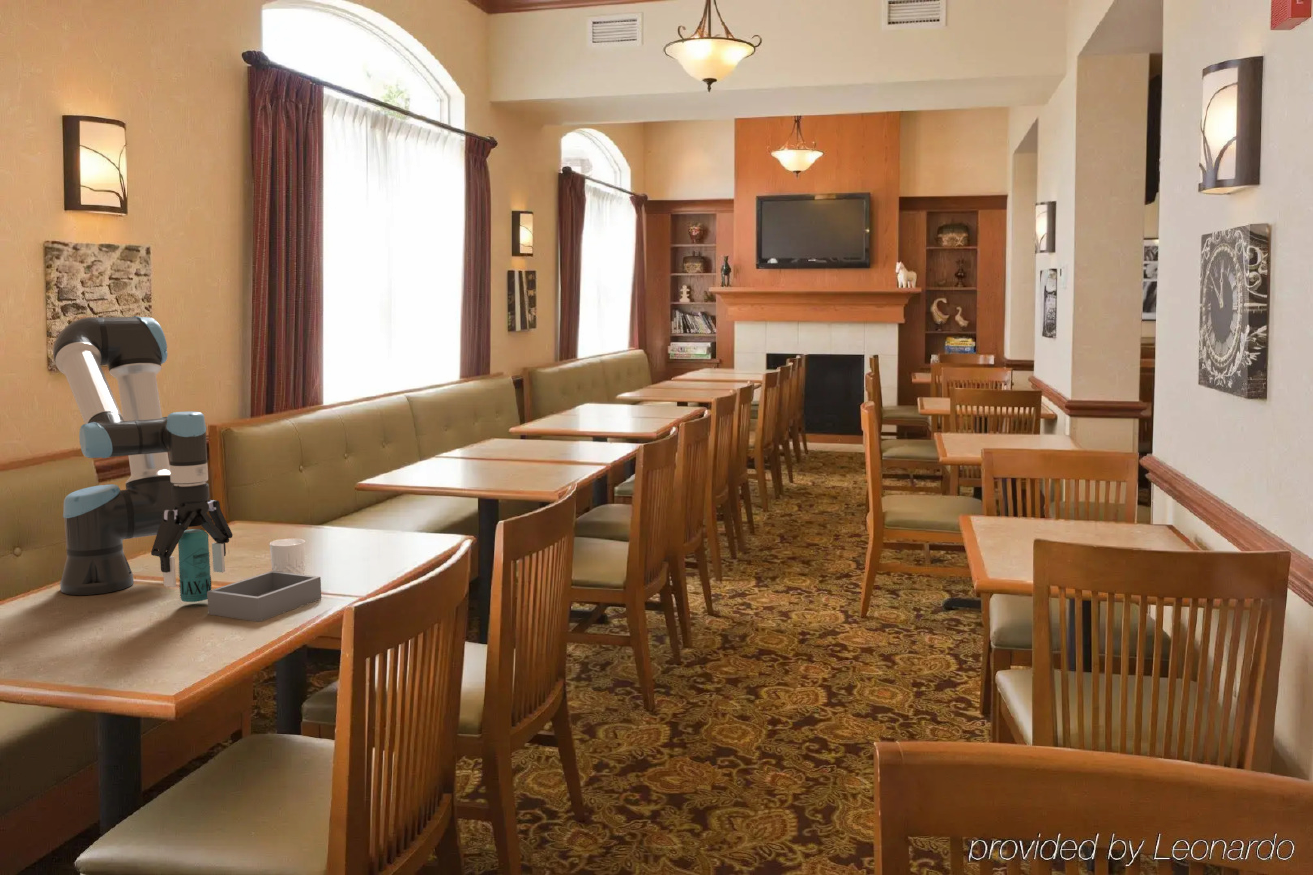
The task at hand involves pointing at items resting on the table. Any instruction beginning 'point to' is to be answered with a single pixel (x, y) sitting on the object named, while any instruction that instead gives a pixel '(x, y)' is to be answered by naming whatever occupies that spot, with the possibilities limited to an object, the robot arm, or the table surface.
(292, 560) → the white cup
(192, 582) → the beverage bottle
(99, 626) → the table surface
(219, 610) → the trough tray
